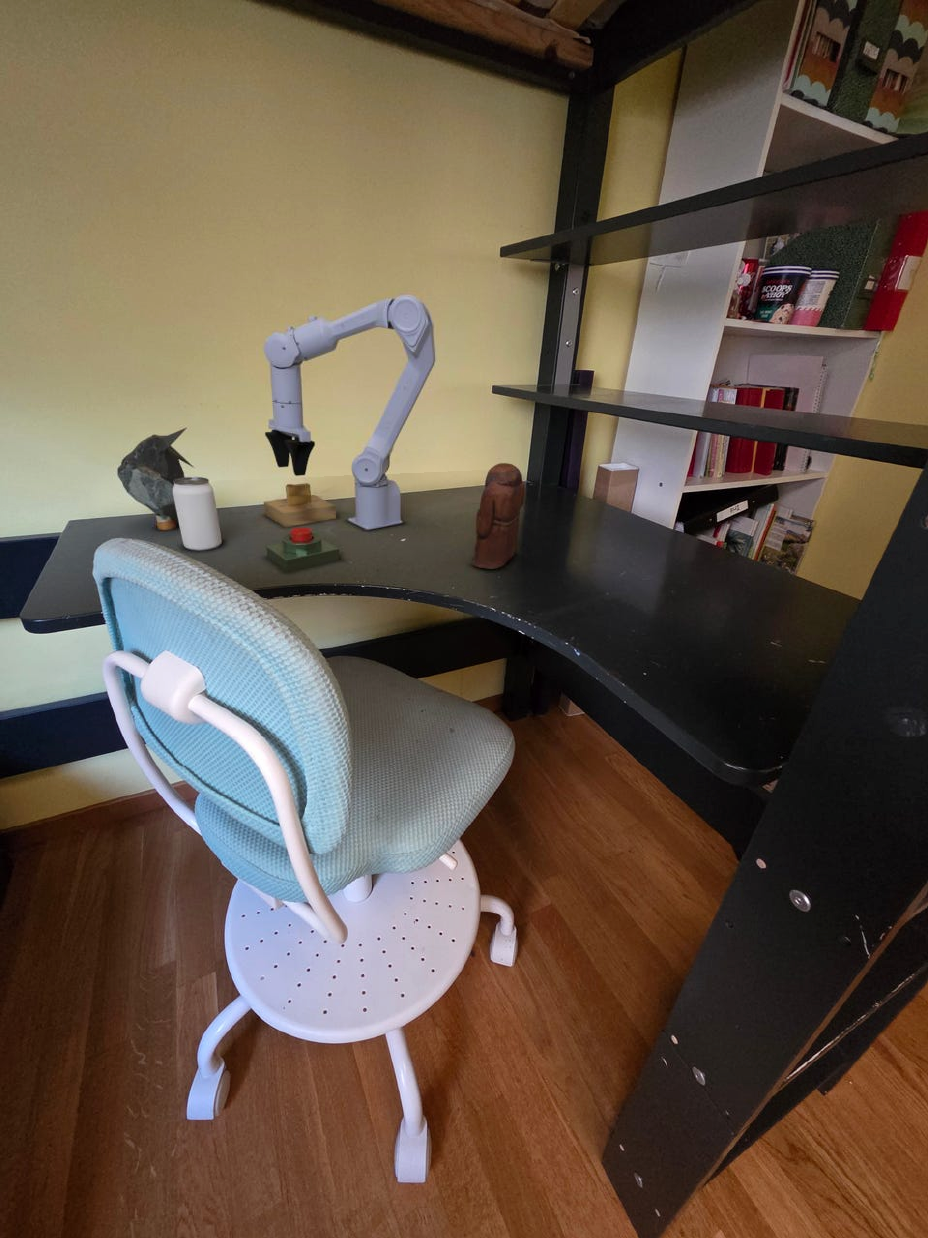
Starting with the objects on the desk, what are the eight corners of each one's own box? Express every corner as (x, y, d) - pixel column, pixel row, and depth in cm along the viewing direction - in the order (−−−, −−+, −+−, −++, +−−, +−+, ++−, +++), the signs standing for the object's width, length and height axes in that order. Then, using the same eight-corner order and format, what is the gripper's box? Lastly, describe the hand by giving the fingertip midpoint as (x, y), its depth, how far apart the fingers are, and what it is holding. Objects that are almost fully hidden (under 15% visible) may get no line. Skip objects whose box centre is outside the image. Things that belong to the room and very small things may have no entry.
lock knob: (308, 500, 114) (307, 481, 112) (311, 502, 114) (310, 483, 112) (287, 503, 111) (285, 484, 109) (290, 505, 110) (288, 485, 108)
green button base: (318, 547, 98) (316, 526, 96) (339, 560, 93) (338, 539, 91) (267, 557, 92) (264, 536, 90) (287, 572, 87) (285, 550, 85)
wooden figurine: (490, 547, 104) (498, 456, 95) (519, 554, 101) (531, 461, 93) (466, 566, 94) (473, 467, 86) (498, 574, 92) (509, 472, 83)
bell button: (306, 535, 93) (305, 526, 92) (316, 541, 91) (315, 531, 90) (287, 538, 91) (286, 529, 90) (297, 544, 89) (296, 535, 88)
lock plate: (314, 507, 121) (313, 493, 119) (336, 518, 114) (335, 504, 113) (265, 514, 113) (263, 500, 112) (285, 527, 107) (283, 512, 106)
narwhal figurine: (110, 527, 100) (84, 431, 92) (174, 508, 113) (156, 422, 105) (166, 540, 96) (144, 440, 88) (226, 519, 109) (212, 430, 101)
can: (207, 553, 92) (195, 486, 86) (175, 548, 93) (161, 482, 87) (229, 541, 98) (219, 478, 92) (199, 537, 99) (187, 474, 93)
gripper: (252, 396, 104) (258, 464, 110) (285, 407, 95) (289, 480, 101) (285, 397, 108) (289, 462, 115) (319, 407, 100) (321, 477, 106)
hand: (291, 470), depth 108 cm, fingers open, 7 cm apart
